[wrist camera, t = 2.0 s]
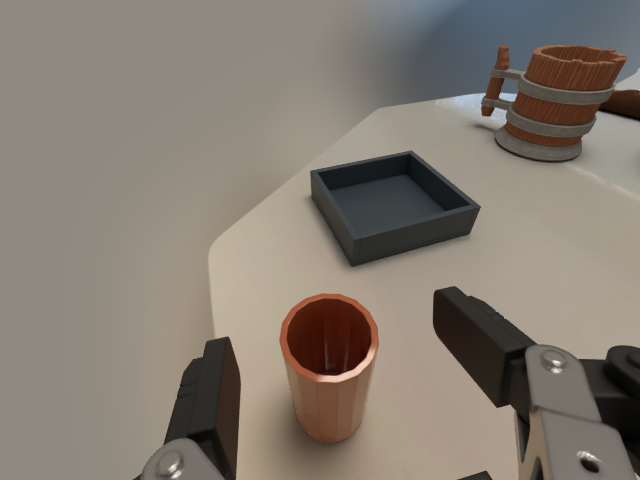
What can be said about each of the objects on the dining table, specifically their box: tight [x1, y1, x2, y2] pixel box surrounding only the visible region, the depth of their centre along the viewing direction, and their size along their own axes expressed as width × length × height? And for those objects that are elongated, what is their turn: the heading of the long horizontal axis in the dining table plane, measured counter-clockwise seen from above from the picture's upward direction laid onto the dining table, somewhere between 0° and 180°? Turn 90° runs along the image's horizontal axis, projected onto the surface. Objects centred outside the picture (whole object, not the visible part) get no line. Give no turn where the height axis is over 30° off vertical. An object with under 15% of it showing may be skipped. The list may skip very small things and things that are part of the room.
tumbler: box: [280, 294, 379, 443], centre depth 21 cm, size 6×6×11 cm
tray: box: [310, 151, 481, 266], centre depth 42 cm, size 17×16×4 cm
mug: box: [481, 45, 627, 161], centre depth 54 cm, size 14×19×15 cm
